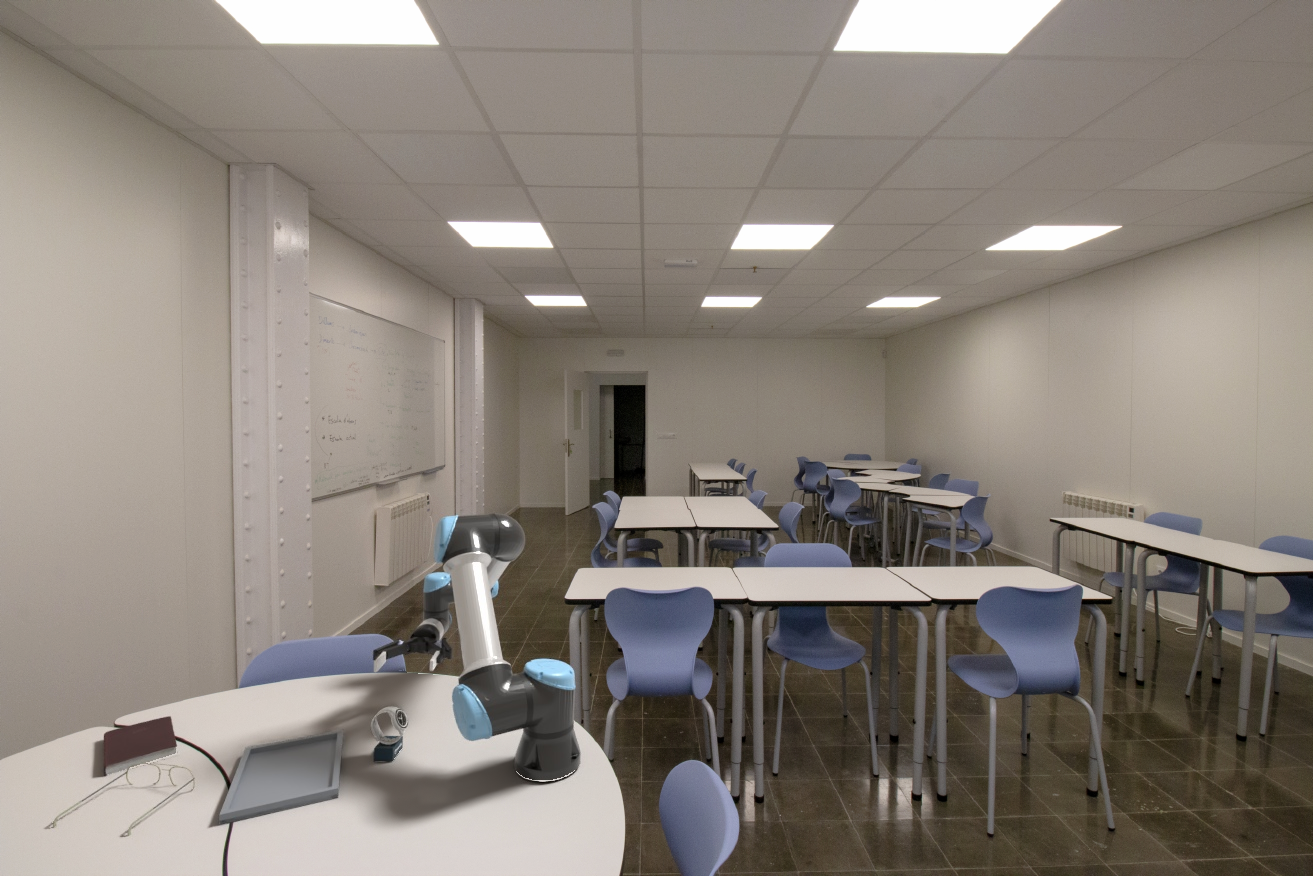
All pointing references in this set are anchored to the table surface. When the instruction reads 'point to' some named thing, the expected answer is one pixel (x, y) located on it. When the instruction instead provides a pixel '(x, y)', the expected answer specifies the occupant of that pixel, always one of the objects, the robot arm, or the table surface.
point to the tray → (284, 776)
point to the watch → (389, 744)
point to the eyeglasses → (131, 783)
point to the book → (138, 744)
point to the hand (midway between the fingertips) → (403, 666)
